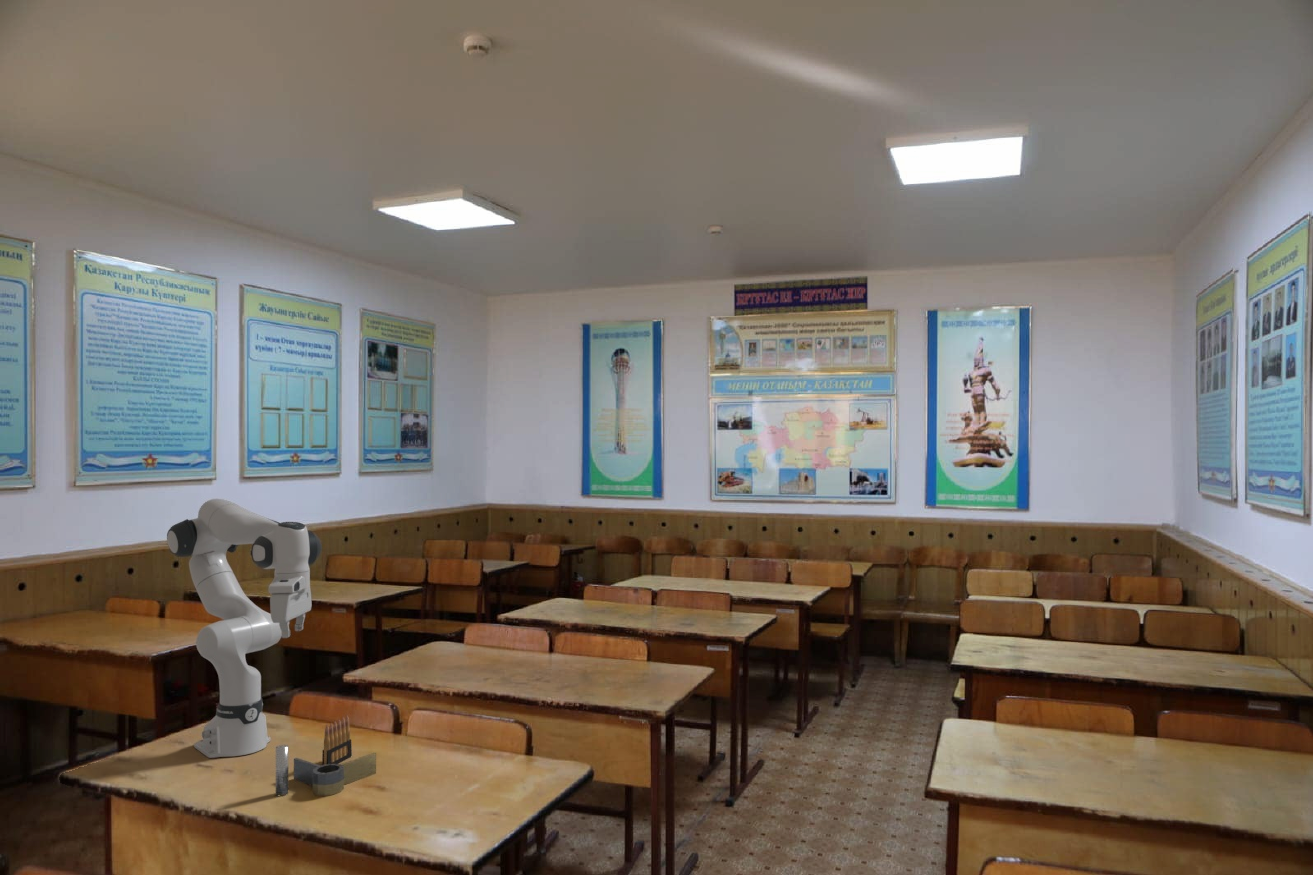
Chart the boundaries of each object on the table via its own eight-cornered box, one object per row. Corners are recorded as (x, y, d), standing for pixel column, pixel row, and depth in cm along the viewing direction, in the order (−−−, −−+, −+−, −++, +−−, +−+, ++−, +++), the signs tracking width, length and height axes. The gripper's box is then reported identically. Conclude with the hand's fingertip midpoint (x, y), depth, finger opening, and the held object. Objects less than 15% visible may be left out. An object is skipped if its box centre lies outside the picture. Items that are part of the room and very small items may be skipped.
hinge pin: (273, 794, 220) (273, 747, 220) (283, 790, 223) (284, 743, 223) (279, 796, 218) (280, 749, 219) (290, 793, 221) (290, 746, 221)
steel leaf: (282, 782, 228) (282, 762, 228) (307, 774, 234) (307, 754, 234) (324, 797, 217) (324, 776, 218) (349, 788, 224) (349, 767, 224)
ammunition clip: (327, 769, 238) (327, 725, 238) (321, 768, 238) (321, 725, 239) (351, 756, 248) (352, 714, 248) (346, 755, 249) (346, 714, 249)
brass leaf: (306, 791, 222) (307, 770, 222) (366, 770, 237) (366, 750, 237) (324, 797, 217) (324, 776, 218) (383, 775, 233) (383, 755, 233)
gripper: (294, 577, 242) (294, 627, 241) (265, 587, 221) (265, 641, 221) (317, 577, 242) (317, 626, 242) (290, 587, 222) (290, 640, 221)
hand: (292, 633), depth 231 cm, fingers open, 8 cm apart
